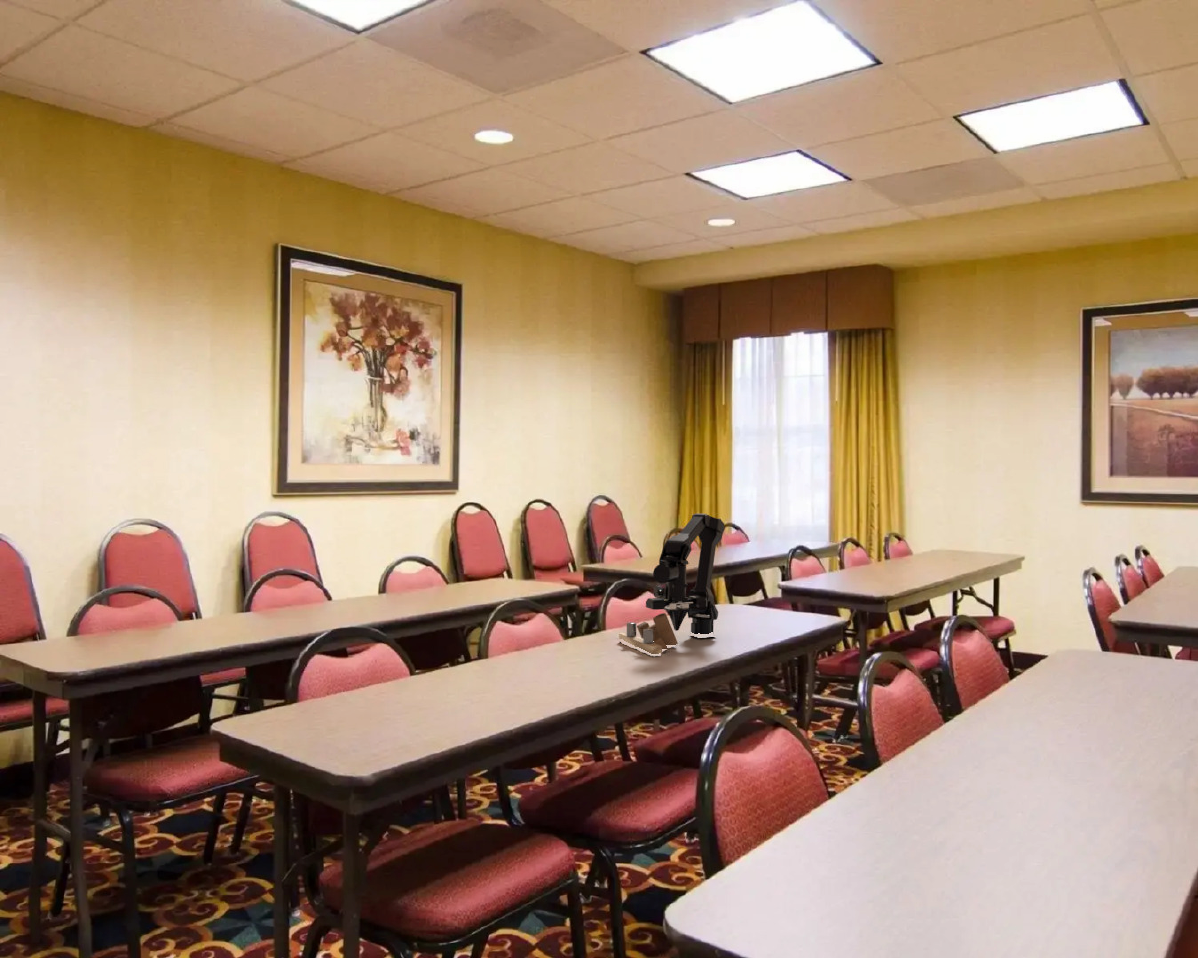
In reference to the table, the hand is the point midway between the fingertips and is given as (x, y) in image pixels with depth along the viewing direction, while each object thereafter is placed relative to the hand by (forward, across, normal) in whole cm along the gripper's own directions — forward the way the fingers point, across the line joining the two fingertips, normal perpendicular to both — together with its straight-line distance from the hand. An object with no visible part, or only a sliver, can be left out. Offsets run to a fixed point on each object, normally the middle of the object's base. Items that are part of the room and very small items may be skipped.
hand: (676, 630), depth 286 cm
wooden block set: (+6, +5, -1) cm, 8 cm away
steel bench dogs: (+5, +12, 0) cm, 13 cm away
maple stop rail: (+5, +12, 0) cm, 13 cm away
